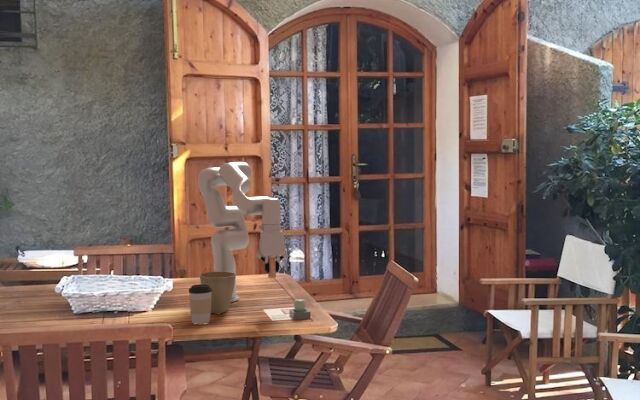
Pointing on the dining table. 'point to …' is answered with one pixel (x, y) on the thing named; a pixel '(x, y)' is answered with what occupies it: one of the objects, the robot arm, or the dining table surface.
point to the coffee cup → (200, 303)
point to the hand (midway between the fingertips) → (272, 271)
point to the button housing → (300, 314)
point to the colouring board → (279, 313)
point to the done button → (299, 305)
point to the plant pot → (219, 289)
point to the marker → (272, 266)
